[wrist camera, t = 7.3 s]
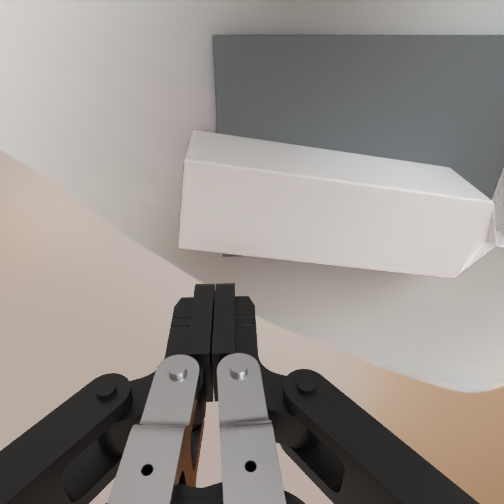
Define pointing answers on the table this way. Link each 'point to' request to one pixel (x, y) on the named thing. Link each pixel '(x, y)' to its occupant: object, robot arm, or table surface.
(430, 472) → the robot arm
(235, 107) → the mat
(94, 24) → the table surface
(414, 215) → the milk
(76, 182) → the table surface
